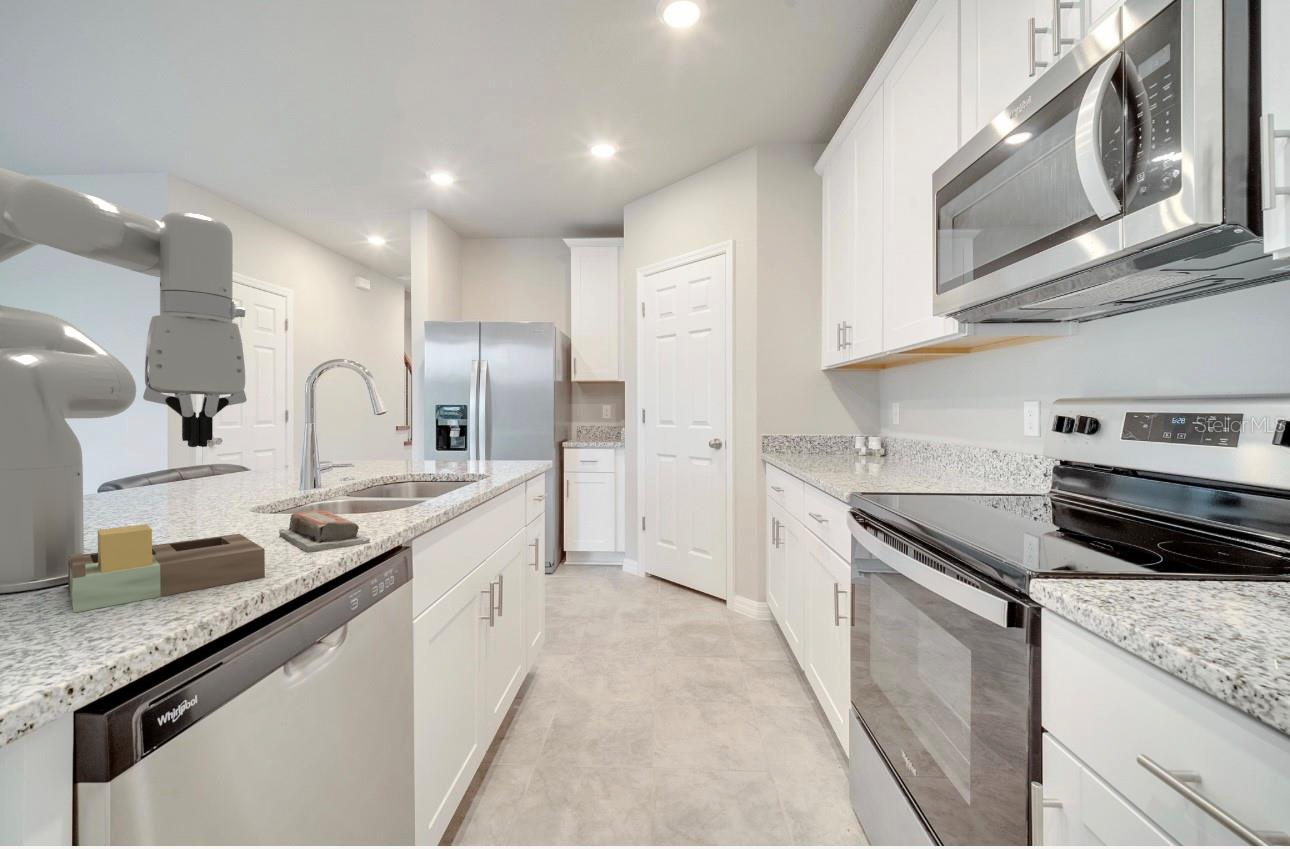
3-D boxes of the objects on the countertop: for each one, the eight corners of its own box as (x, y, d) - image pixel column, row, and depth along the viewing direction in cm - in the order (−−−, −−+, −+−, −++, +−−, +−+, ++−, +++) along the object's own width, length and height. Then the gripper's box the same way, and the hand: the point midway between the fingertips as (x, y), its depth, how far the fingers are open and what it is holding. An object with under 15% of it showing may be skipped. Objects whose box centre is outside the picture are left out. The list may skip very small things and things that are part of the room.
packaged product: (277, 512, 101) (335, 506, 108) (277, 538, 101) (335, 530, 109) (307, 526, 89) (370, 518, 96) (306, 555, 89) (370, 545, 96)
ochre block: (98, 565, 67) (97, 529, 67) (147, 558, 70) (146, 524, 70) (101, 572, 64) (100, 535, 64) (152, 565, 68) (151, 529, 67)
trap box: (68, 586, 71) (67, 545, 71) (239, 558, 85) (239, 524, 85) (73, 612, 62) (72, 565, 62) (264, 576, 76) (264, 538, 76)
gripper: (256, 321, 81) (256, 443, 81) (117, 304, 70) (117, 447, 70) (271, 315, 76) (270, 446, 76) (123, 297, 65) (124, 450, 65)
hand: (197, 446), depth 73 cm, fingers closed
